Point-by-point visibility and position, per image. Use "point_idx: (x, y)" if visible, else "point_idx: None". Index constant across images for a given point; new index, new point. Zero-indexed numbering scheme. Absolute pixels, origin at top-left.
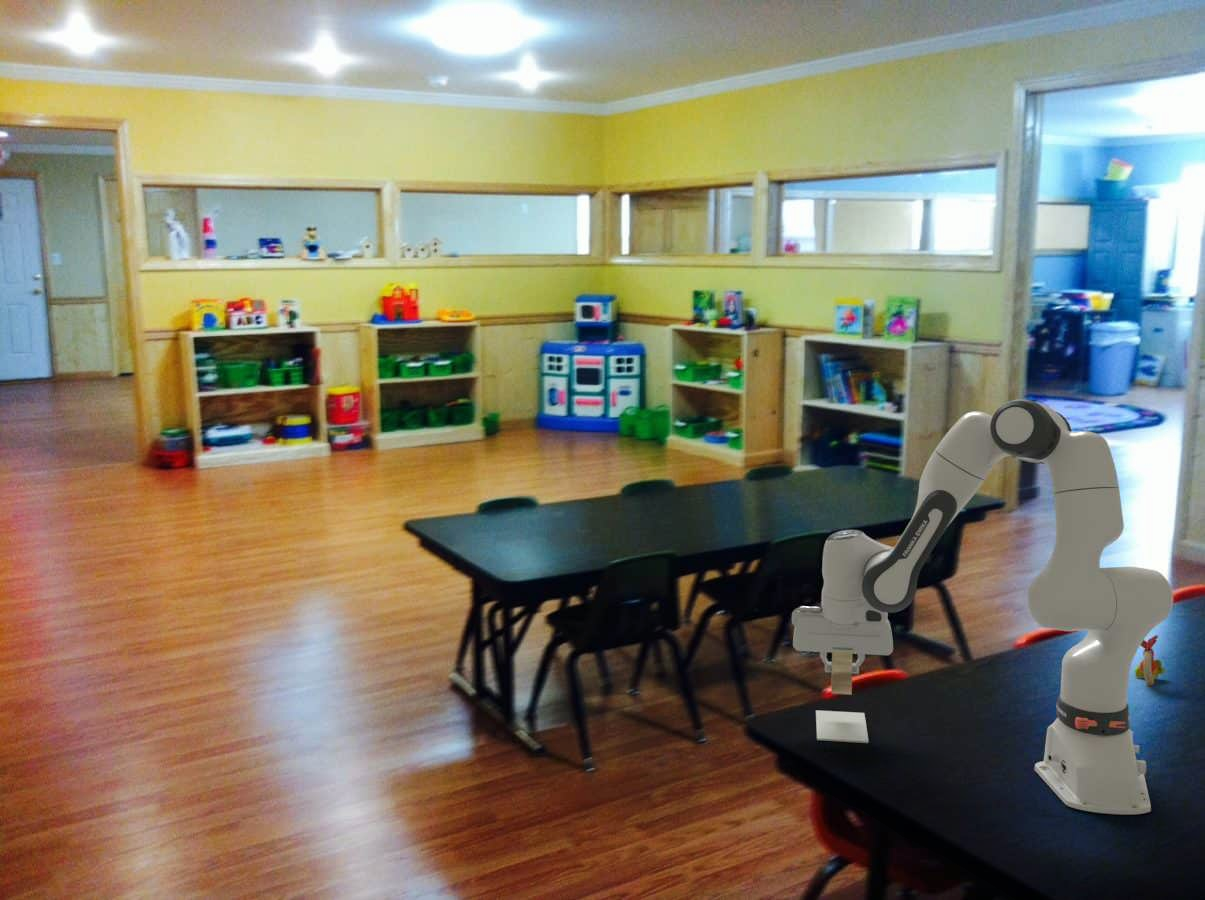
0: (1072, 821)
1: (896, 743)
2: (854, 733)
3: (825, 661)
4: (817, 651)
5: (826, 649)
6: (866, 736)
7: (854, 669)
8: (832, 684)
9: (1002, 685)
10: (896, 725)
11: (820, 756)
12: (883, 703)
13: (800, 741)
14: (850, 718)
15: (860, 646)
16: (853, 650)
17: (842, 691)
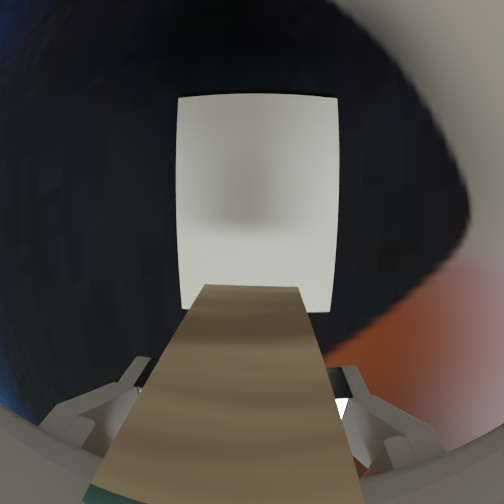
0: (6, 7)
1: (109, 120)
2: (216, 144)
3: (376, 410)
4: (481, 437)
5: (430, 483)
6: (180, 129)
7: None
8: (301, 306)
9: (20, 402)
10: (102, 241)
11: (319, 17)
12: None
13: (378, 94)
14: (224, 262)
15: (8, 477)
16: (85, 479)
17: (246, 289)
